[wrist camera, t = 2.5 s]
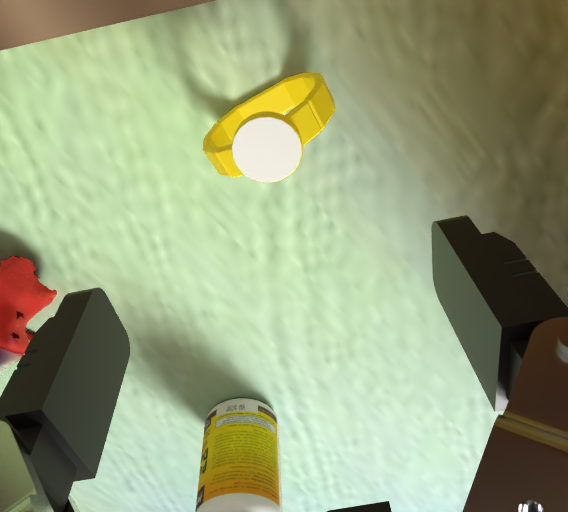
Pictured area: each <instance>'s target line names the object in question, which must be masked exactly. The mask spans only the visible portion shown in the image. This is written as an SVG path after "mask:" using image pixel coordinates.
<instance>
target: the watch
mask: <svg viewBox="0 0 568 512" xmlns="http://www.w3.org/2000/svg"><path fill="white" fill-rule="evenodd" d="M295 106H296V107H295ZM294 107H295V108H294ZM292 108H294V109H293V110H291V111H290V112H289V113H288V114H286V115H285V116H284V115H282V114H283V113H285V112H286V111H288V110H290V109H292ZM334 111H335V105H334V100H333V97H332V95H331V93H330V91H329V89H328V87H327V85H326V83H325V81H324V79H323V77H322V75H321V74H319V73H311V72H305V73H300V74H297V75H294V76H291V77H287V78H285V79H283V80H282V81H280V82H278V83H276V84H275V85H273V86H271V87H269V88H268V89H266V90H264V91H263V92H261V93H259V94H257V95H256V96H254V97H252V98H250V99H249V100H247V101H245V102H243V103H242V104H240V105H236V106H235V107H234V108H233V109H232V110H230V111H229V112H228V113H227V114H226V115H224V116H223V117H222V118H221V119H220V120H219V121H217V123H216V124H214V126H213V127H212V128H211V130H210V131H209V132H208V133H207V135H206V136H205V138H204V142H203V151H204V152H205V154H206V155H207V157H208V158H209V160H210V161H211V163H212V164H213V166H214V167H215V168H216V170H217V171H218V173H219V174H222V175H226V176H229V177H238V176H242V175H246V176H247V177H249V178H251V179H252V180H255V181H259V182H263V183H270V182H277V181H280V180H283V179H285V178H286V177H288V176H289V175H291V174H292V173H293V172H294V171H295V169H296V168H297V167H298V165H299V164H300V161H301V158H302V154H303V146H304V145H305V144H307V143H308V142H309V141H310V140H311V139H313V138H314V137H315V136H316V135H317V134H319V133H320V132H321V130H322V129H324V127H325V126H326V124H327V123H328V121H329V120H330V118H331V117H332V115H333V114H334Z"/></svg>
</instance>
